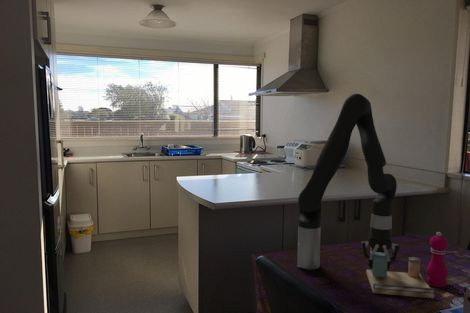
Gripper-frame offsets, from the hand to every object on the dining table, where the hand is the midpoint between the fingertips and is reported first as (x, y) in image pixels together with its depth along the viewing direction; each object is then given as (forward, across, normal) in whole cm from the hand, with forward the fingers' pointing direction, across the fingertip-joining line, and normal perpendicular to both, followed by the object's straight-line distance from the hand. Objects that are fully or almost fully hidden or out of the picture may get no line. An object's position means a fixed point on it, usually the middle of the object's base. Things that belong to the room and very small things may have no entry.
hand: (378, 269), depth 146 cm
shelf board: (+4, -6, +3) cm, 8 cm away
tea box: (+2, 0, 0) cm, 2 cm away
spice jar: (+3, -13, -3) cm, 14 cm away
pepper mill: (+4, -21, -2) cm, 22 cm away
